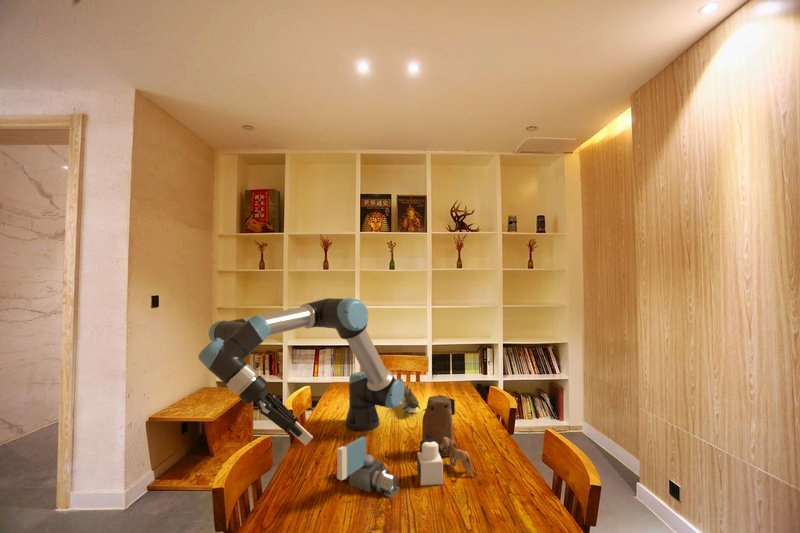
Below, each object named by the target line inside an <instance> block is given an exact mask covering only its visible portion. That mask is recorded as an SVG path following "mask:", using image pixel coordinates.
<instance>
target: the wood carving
mask: <svg viewBox="0 0 800 533" xmlns="http://www.w3.org/2000/svg"><path fill="white" fill-rule="evenodd" d="M399 380H400V381H402V382H403V384H404V396H403V399H402V401H401V409H402V411H403V410H404V411H407V412H416V411H417V408H418V409H421V407H420V405H419V401H418V398H417V397H416V395H414V393H413V392H412V388H410V387H409V385H405V383H404V380H403V378H402V377H400V378H399ZM404 411H403V412H404Z"/></svg>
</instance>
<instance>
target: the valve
mask: <svg viewBox="0 0 800 533" xmlns="http://www.w3.org/2000/svg"><path fill="white" fill-rule="evenodd" d="M335 477H336V478H335ZM334 478H335V479H337V473H336V474H335V476H334ZM344 481H346V482H349V484H348V485H349V486H350V487H353V488H355V489H359V490H362V491H364V492H367V493H369V494H370V493H371V492H372V491H374V490H376V492H377V493H379V494H383V497H387V498H389V499H391V498H393V496H394V495H396V494H398V492H399V491H400V490H401V487H400V486H397V485H398V477H397V476H396V475H394V474H391V471H390V470H388V469H386V468H384V462H383V461H380V460H377V459H375V458H373V464H372V465H370V466H363V467H361V468H359V469H358V470H356V471H355V472H353V473H352V474H350V475H349V476H347V478H345V479H344Z"/></svg>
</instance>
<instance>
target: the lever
mask: <svg viewBox="0 0 800 533" xmlns="http://www.w3.org/2000/svg"><path fill="white" fill-rule="evenodd" d="M336 450H337V452H336V453H337V458H336V459H337V463H336V464H337V465H336V466H337V472H336V474H337V478H336V479H337V480H339V481H343V480H344V479H345V478H347V476H349V475H350V474H352V473H353V472H355V471H356V470H358V469H359V468H361V467H363V466H370V465H372V464H373V459H374V455H373V454H367V437H366V436H361V437H359V438H356V439H355V440H354V441H352V442H350V443H348V444H346V445H344V446H340V447H338V448H337V449H336ZM344 481H345V480H344Z"/></svg>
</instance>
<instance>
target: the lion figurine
mask: <svg viewBox="0 0 800 533" xmlns="http://www.w3.org/2000/svg"><path fill="white" fill-rule="evenodd" d="M439 446H440V448H441V450H443V451H444V452H445V453H446V454H447V456H446V457H449V459H448V460H449V463H450V464H449V465H448V468H451V469H452V468H453V467H454V465H455V466H456V465H457V462H458V461H459V462H461V465H462V467H463V468H464V470H465V471H466V474H465V477H466V478H470V476H471V472H472V474H473V475H474V476H475V477H478V473H477V472H475V471H474V470H473V467H472V462H471V456H470V453H469V452H468V451H466V450H462V449H460V448H459V447H458V446H457V443H456V442H455V441H454V439H453V440H452V439H450V438H448V437H444V438H442V443H441V444H440V445H439ZM470 471H471V472H470Z"/></svg>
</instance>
